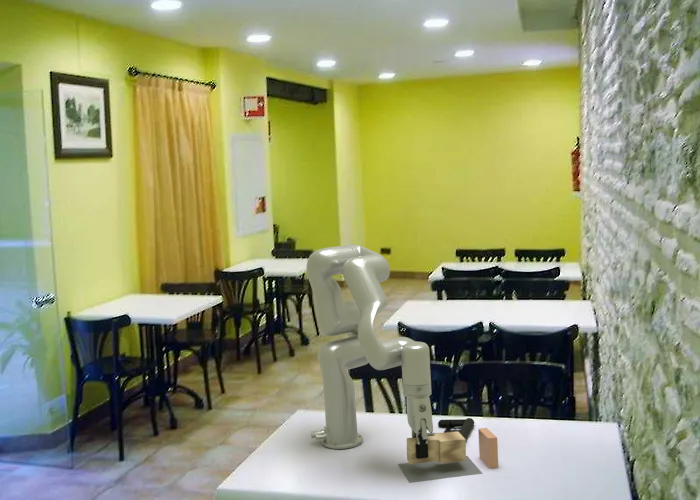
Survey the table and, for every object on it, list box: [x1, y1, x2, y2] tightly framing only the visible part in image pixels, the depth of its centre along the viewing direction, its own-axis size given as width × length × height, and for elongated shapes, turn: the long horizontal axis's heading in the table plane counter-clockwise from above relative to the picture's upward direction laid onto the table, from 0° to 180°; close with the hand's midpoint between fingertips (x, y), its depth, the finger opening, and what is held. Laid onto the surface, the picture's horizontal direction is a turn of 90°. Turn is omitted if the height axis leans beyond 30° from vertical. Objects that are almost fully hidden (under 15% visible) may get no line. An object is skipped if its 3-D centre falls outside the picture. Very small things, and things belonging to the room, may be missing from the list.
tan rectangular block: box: [478, 427, 499, 470], centre depth 202 cm, size 3×8×9 cm, turn 9°
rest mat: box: [397, 455, 483, 484], centre depth 201 cm, size 20×13×1 cm, turn 99°
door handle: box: [427, 417, 476, 441], centre depth 227 cm, size 3×20×16 cm
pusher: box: [406, 432, 467, 464], centre depth 200 cm, size 15×6×6 cm, turn 99°
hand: (420, 454), depth 199 cm, fingers closed on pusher, 3 cm apart
